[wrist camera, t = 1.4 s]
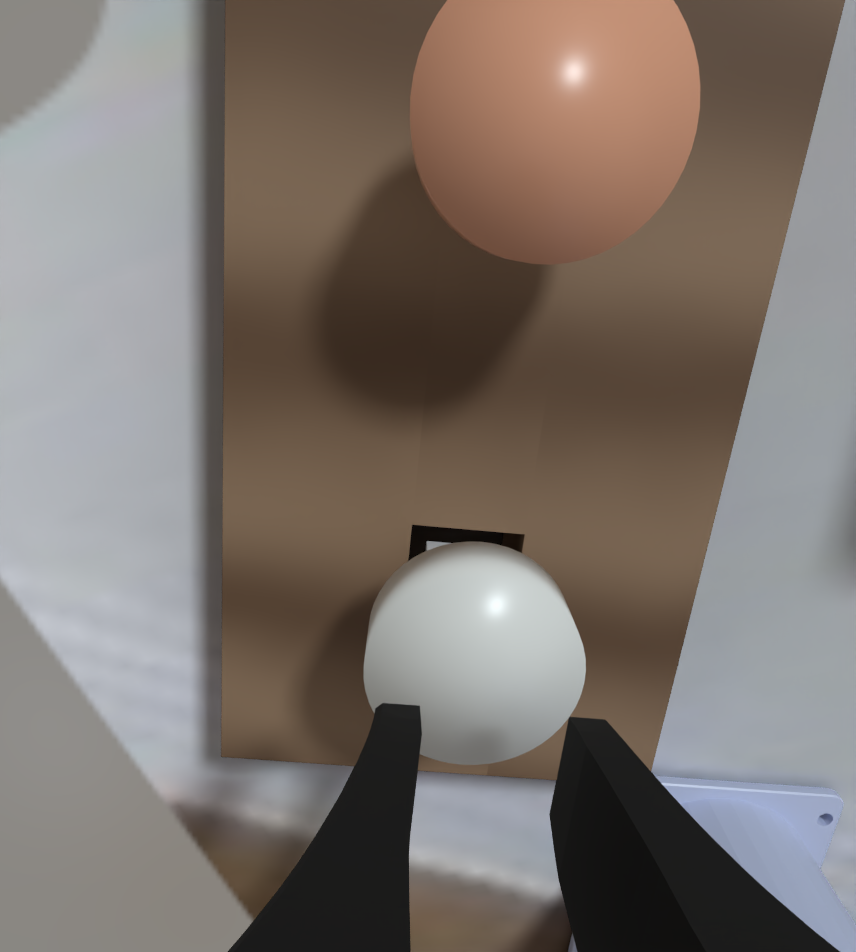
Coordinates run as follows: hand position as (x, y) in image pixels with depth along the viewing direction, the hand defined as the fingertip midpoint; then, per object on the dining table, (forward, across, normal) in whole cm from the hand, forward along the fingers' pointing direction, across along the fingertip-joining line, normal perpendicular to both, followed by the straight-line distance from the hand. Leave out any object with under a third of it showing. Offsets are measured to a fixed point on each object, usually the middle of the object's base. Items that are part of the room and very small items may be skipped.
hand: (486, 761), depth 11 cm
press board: (+9, 0, -5) cm, 11 cm away
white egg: (+6, 0, 0) cm, 6 cm away
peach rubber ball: (+6, 0, -10) cm, 12 cm away
